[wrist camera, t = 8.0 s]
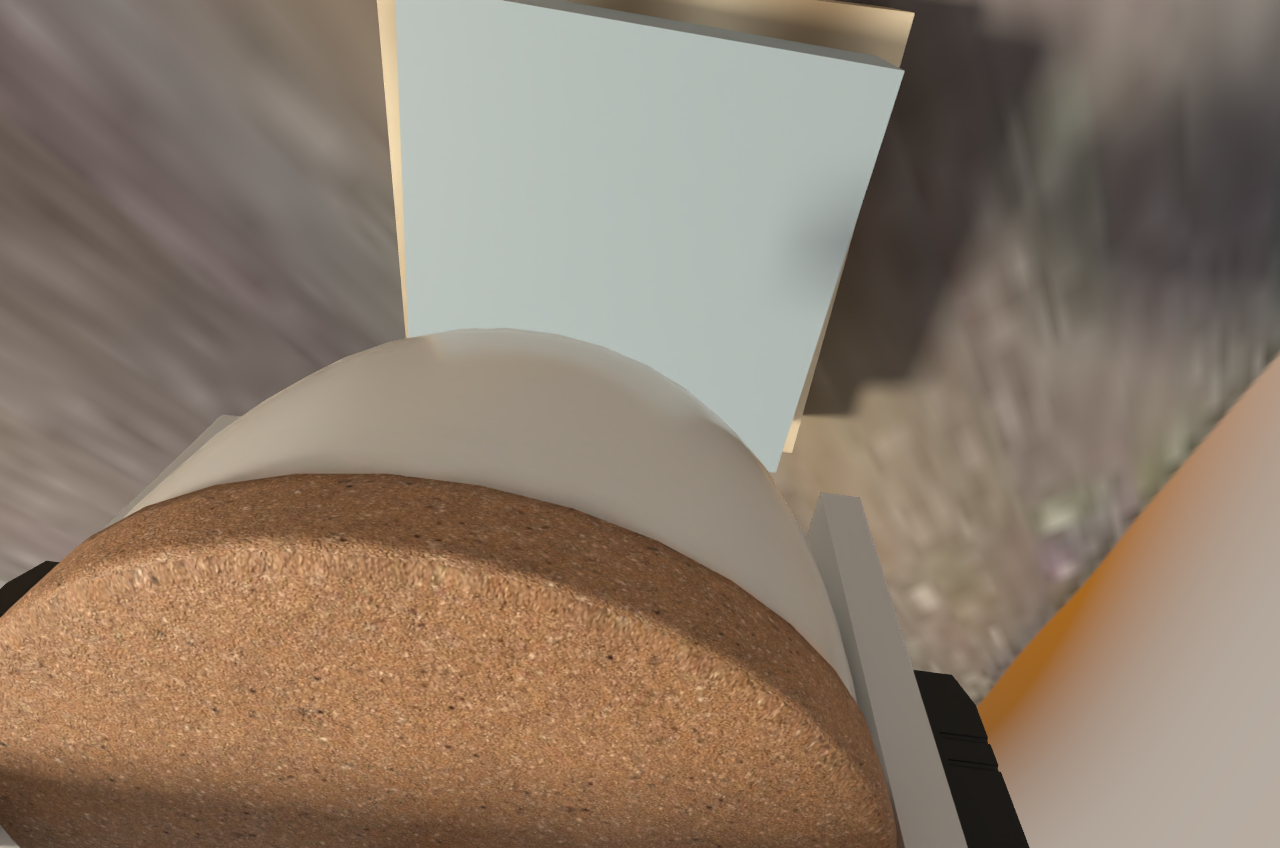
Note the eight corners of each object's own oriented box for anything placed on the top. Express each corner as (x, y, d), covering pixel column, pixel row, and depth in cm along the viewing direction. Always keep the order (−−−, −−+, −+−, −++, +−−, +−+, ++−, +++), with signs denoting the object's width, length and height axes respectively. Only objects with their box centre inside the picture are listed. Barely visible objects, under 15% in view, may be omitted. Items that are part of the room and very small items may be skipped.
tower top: (875, 55, 24) (904, 71, 21) (767, 419, 32) (775, 472, 29) (437, -22, 24) (394, -19, 20) (441, 367, 32) (411, 414, 28)
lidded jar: (246, 540, 16) (-164, 1066, 9) (378, 103, 11) (-420, 460, 3) (648, 700, 19) (613, 1233, 11) (924, 405, 13) (1253, 1050, 5)
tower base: (887, 6, 27) (915, 13, 23) (783, 407, 36) (791, 452, 33) (412, -55, 26) (372, -57, 23) (437, 364, 36) (411, 405, 33)
